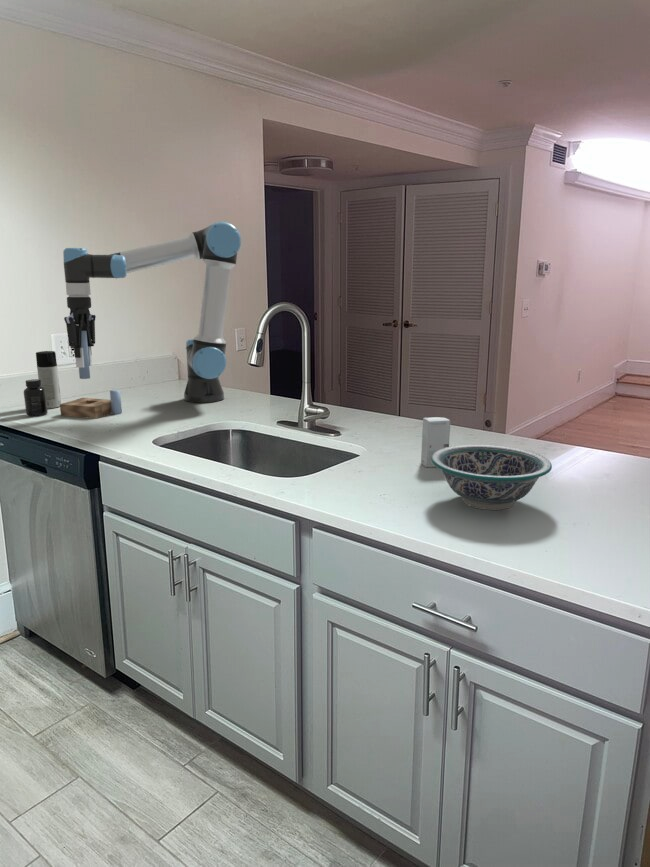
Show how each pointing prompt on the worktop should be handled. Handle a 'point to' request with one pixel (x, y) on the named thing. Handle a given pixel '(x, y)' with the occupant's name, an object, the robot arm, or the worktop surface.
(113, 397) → the short dowel
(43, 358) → the spray can
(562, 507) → the worktop surface
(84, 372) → the long dowel
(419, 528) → the worktop surface
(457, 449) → the bowl
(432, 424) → the skincare box
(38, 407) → the supplement bottle
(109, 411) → the collar block
